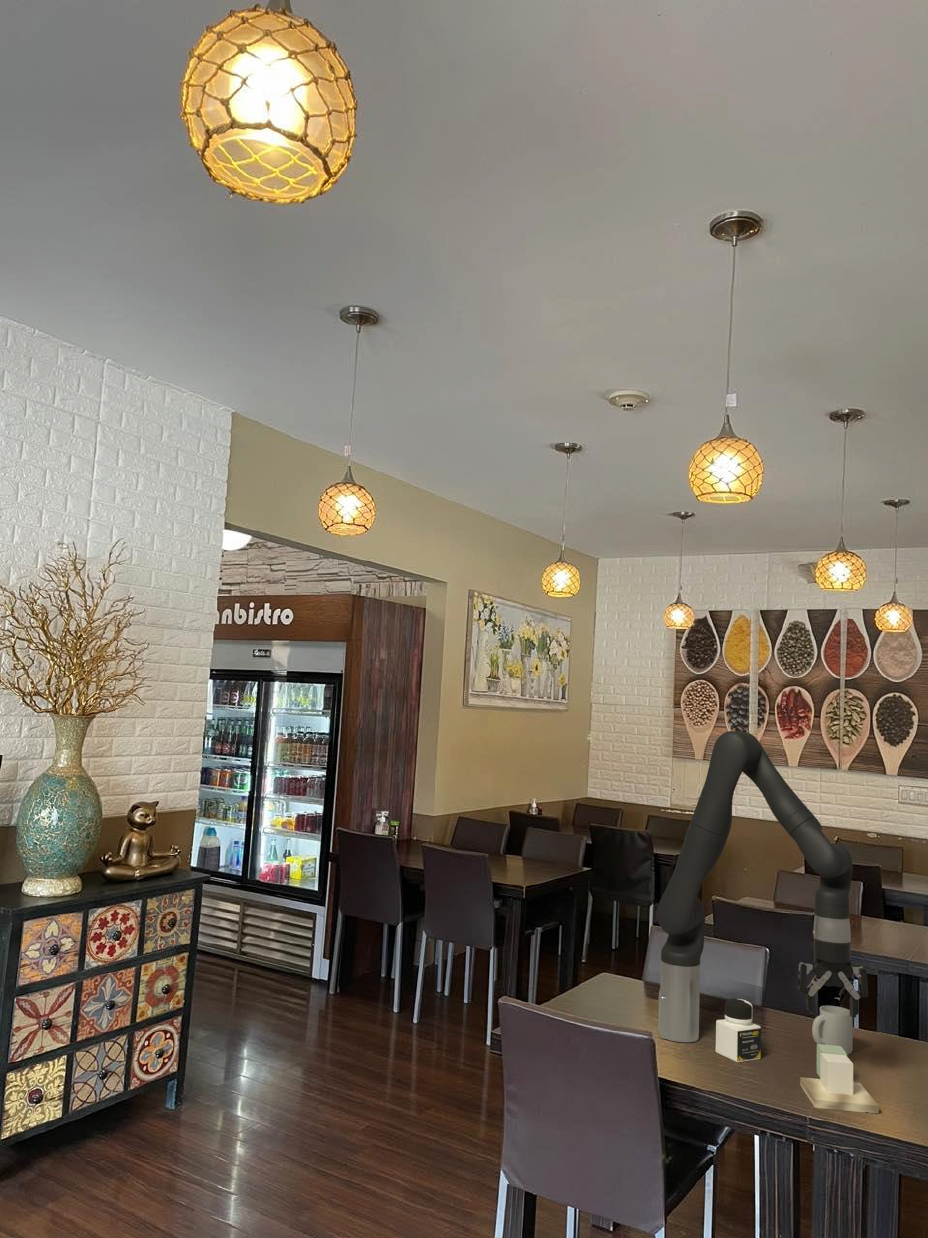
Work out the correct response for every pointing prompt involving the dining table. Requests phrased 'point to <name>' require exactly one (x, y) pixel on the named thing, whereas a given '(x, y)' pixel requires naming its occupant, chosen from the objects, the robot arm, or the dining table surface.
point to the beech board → (839, 1097)
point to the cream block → (836, 1074)
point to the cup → (834, 1027)
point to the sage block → (828, 1050)
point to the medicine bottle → (738, 1032)
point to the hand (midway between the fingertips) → (832, 1015)
